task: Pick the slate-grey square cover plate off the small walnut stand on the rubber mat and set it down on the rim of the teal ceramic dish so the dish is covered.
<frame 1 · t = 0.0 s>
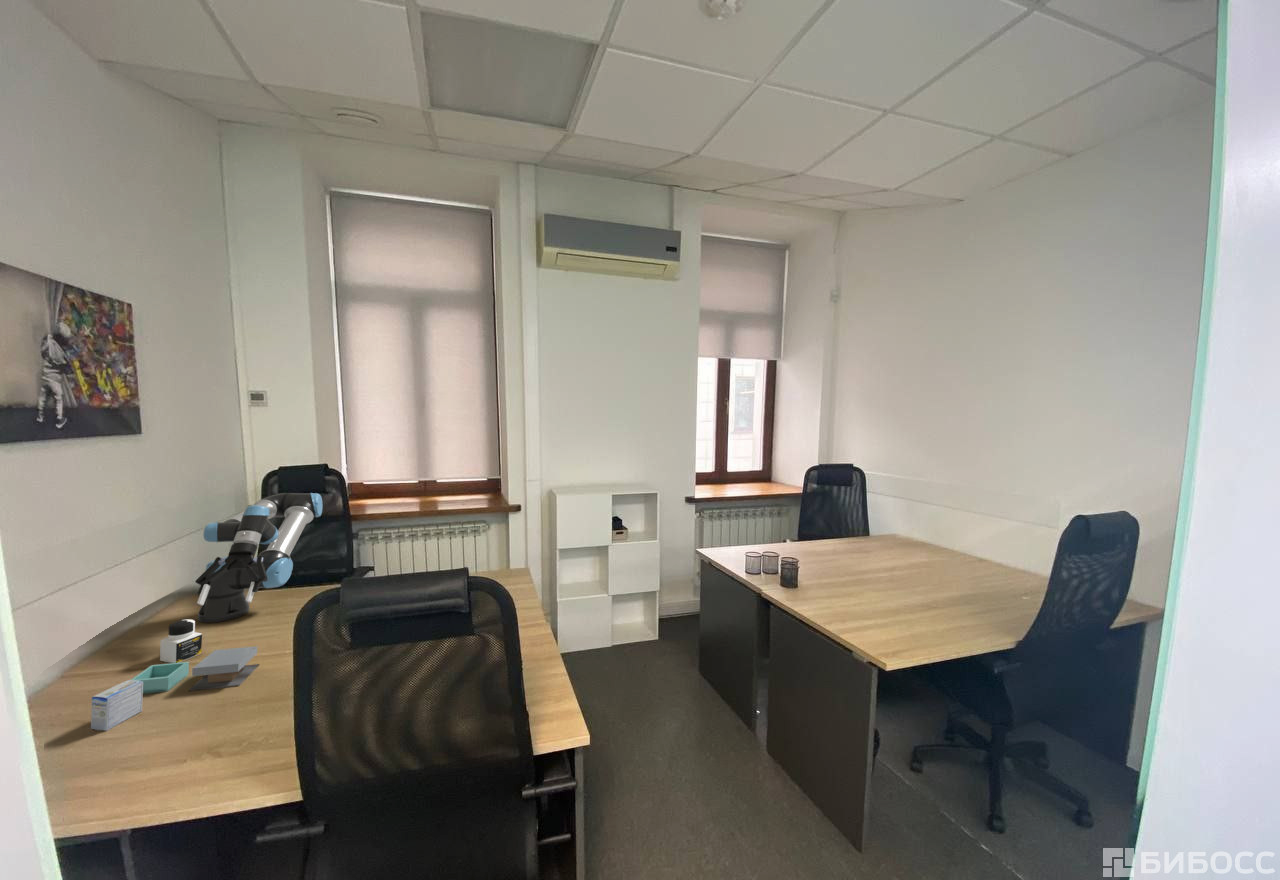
hand: (224, 602, 154), 15 cm above the table, tool tilted 35°, fingers open, 13 cm apart
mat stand: (225, 677, 136), on the table
dish: (159, 684, 131), on the table
medicine box: (117, 721, 116), on the table
cover plate: (226, 664, 136), point 4 cm above the table, touching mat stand
medicine bottle: (181, 657, 146), on the table
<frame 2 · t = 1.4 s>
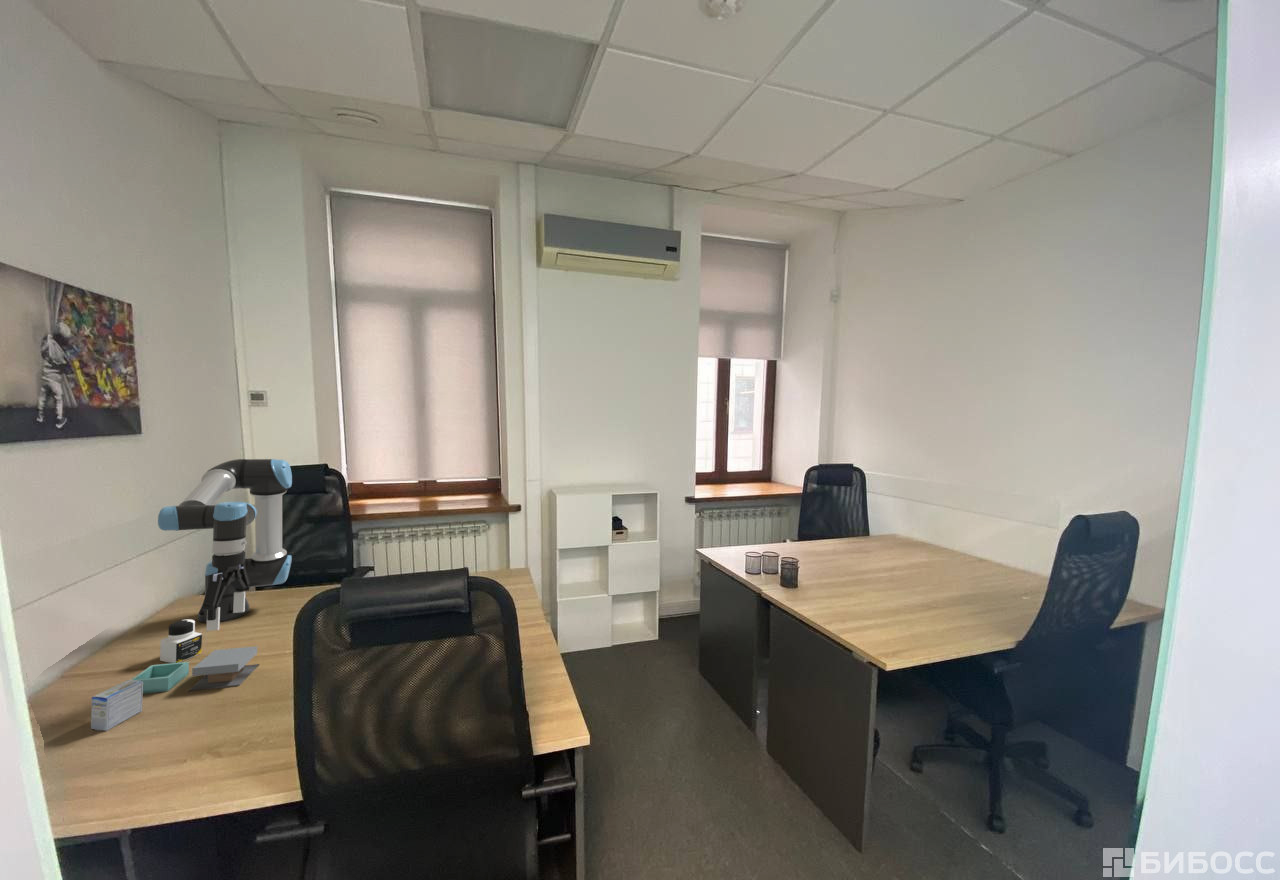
hand: (226, 620, 136), 18 cm above the table, tool pointing down, fingers open, 13 cm apart
nothing on the table moved.
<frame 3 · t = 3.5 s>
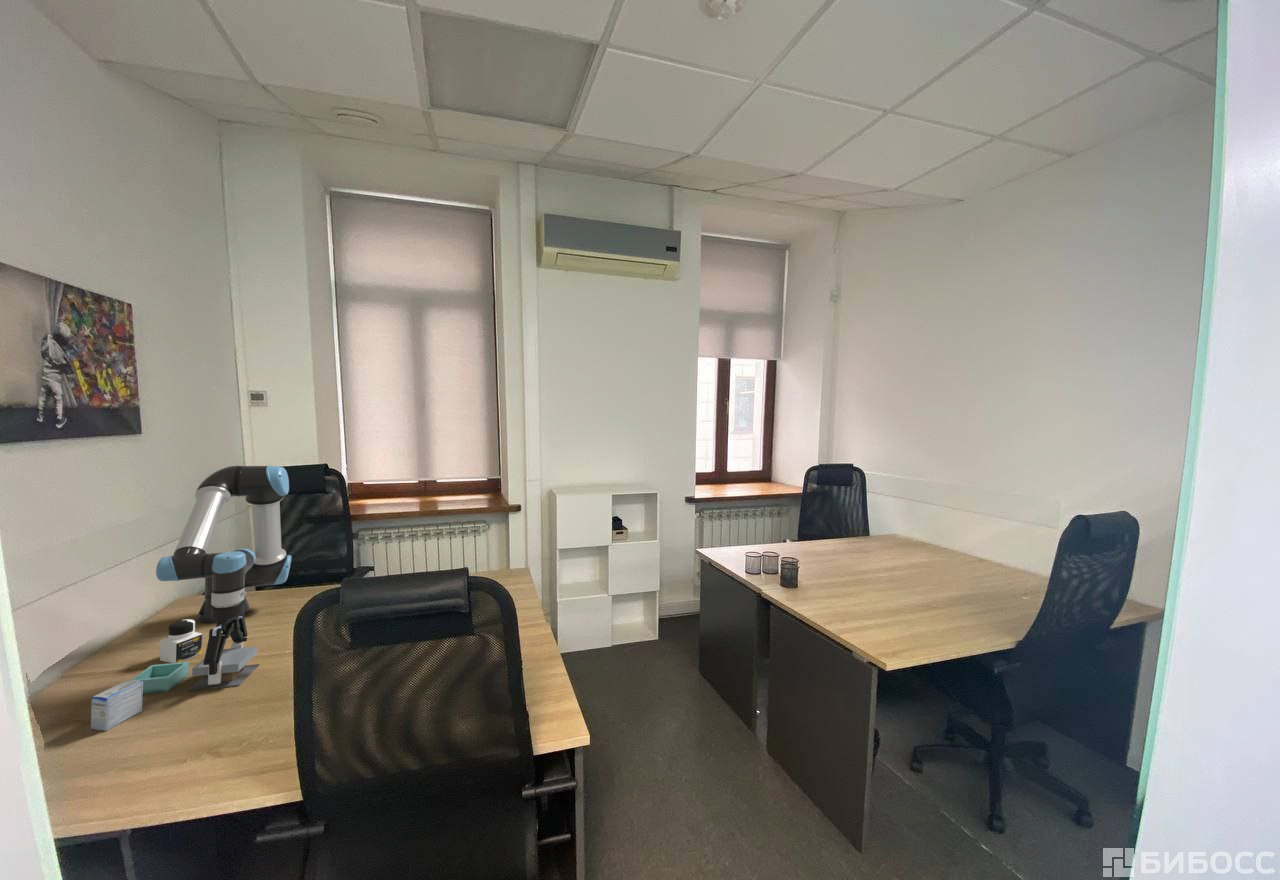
hand: (225, 673, 136), 1 cm above the table, tool pointing down, fingers closed on cover plate, 11 cm apart
cover plate: (226, 664, 136), point 4 cm above the table, touching gripper, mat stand
everything else where it was.
when the fingers open (3 cm above the table, at t = 9.1 s): cover plate drops 1 cm, resting on dish.
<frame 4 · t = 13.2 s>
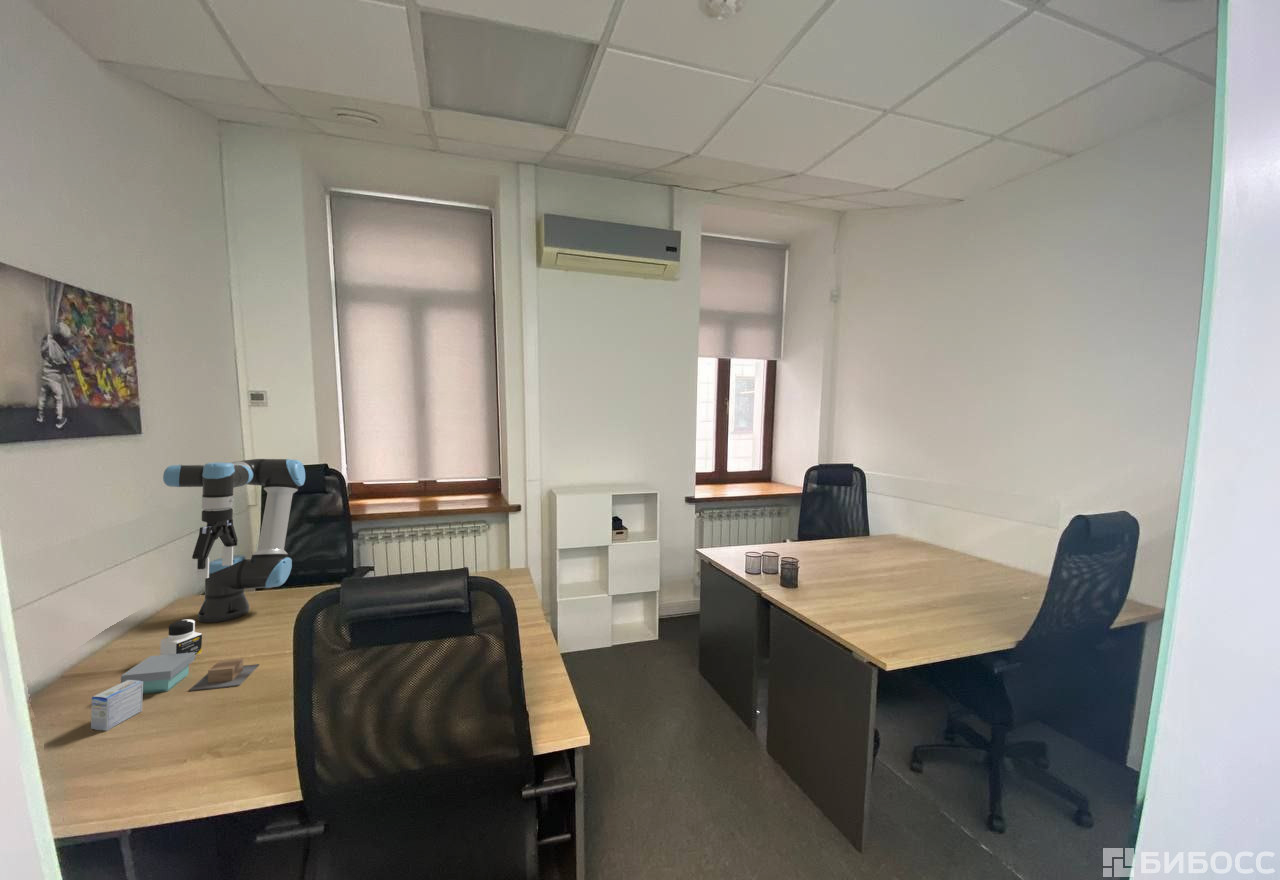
hand: (215, 571, 148), 29 cm above the table, tool pointing down, fingers open, 13 cm apart
cover plate: (159, 671, 131), point 4 cm above the table, touching dish
everything else where it was.
at the end: cover plate 0.0 cm off-centre on the dish, point 4.0 cm above the dish's base; cover plate tilted 0°; the gripper is holding nothing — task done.
